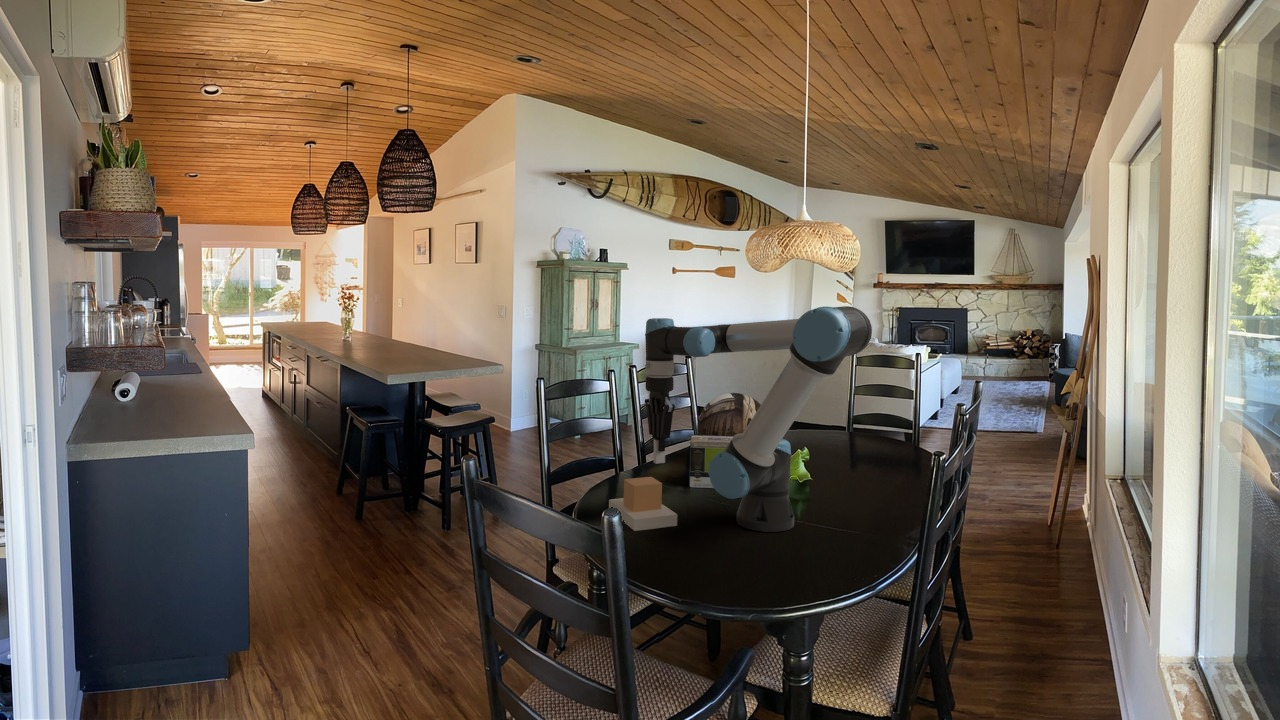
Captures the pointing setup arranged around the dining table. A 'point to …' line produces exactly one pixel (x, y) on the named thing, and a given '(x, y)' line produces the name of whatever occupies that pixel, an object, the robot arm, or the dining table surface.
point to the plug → (642, 494)
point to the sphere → (727, 415)
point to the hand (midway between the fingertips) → (659, 462)
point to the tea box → (704, 457)
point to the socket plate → (645, 516)
